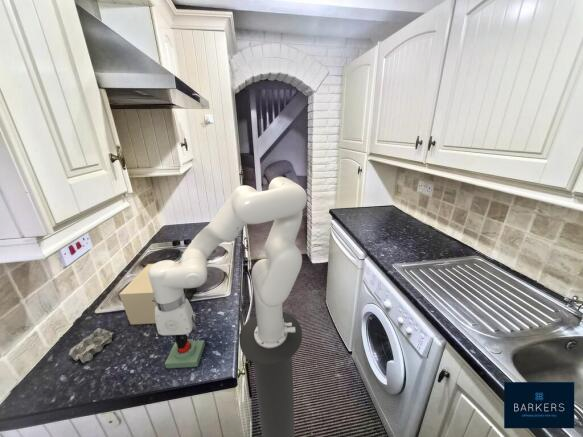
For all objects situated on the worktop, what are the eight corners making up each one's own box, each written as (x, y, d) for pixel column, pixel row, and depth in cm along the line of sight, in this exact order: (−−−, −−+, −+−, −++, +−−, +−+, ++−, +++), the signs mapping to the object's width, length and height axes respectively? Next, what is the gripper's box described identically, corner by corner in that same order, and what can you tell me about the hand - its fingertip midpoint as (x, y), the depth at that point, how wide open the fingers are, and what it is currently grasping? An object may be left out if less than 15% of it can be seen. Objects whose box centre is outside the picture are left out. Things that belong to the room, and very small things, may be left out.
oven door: (205, 288, 109) (199, 262, 104) (189, 321, 91) (181, 291, 85) (192, 289, 109) (186, 262, 104) (174, 322, 91) (165, 292, 85)
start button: (192, 343, 77) (191, 339, 77) (188, 353, 74) (187, 349, 73) (181, 343, 77) (180, 340, 77) (176, 353, 74) (175, 349, 73)
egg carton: (85, 365, 75) (80, 356, 73) (69, 359, 77) (64, 350, 75) (116, 338, 84) (113, 330, 83) (102, 333, 86) (98, 325, 85)
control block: (205, 344, 81) (203, 336, 79) (197, 366, 74) (195, 357, 72) (176, 346, 81) (174, 337, 79) (166, 368, 73) (163, 359, 72)
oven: (192, 289, 109) (186, 262, 104) (174, 322, 91) (165, 291, 85) (156, 291, 109) (147, 264, 103) (130, 324, 90) (118, 294, 84)
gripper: (138, 310, 64) (153, 356, 71) (192, 308, 65) (202, 353, 72) (152, 292, 71) (164, 336, 78) (200, 290, 72) (209, 333, 79)
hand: (182, 344), depth 75 cm, fingers closed
